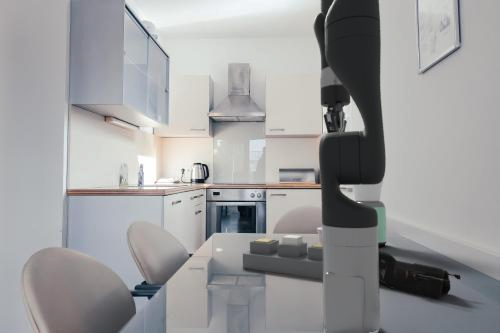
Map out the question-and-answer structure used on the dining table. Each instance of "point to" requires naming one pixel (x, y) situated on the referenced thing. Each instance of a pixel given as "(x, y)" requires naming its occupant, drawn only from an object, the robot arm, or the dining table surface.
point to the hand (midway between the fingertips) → (336, 152)
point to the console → (285, 259)
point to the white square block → (292, 240)
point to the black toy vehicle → (414, 277)
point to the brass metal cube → (318, 245)
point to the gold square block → (264, 240)
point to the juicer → (371, 198)
